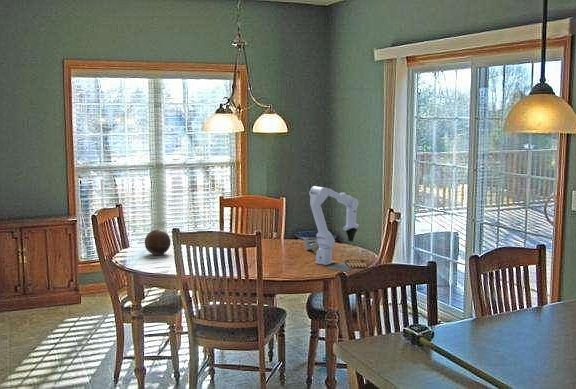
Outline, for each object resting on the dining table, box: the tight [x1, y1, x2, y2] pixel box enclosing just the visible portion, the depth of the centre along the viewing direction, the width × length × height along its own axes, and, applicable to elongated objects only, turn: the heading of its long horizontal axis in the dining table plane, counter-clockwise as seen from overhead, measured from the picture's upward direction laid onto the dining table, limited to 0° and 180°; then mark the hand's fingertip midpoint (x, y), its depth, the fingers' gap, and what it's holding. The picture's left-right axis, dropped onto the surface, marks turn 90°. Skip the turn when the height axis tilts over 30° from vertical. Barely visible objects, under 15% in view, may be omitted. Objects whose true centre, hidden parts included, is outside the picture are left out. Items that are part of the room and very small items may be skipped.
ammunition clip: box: [344, 259, 368, 268], centre depth 367 cm, size 11×2×12 cm
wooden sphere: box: [144, 229, 171, 256], centre depth 392 cm, size 15×15×15 cm
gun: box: [304, 238, 319, 254], centre depth 402 cm, size 3×25×15 cm, turn 19°
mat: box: [326, 262, 359, 272], centre depth 364 cm, size 17×12×1 cm
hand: (350, 241), depth 385 cm, fingers closed
